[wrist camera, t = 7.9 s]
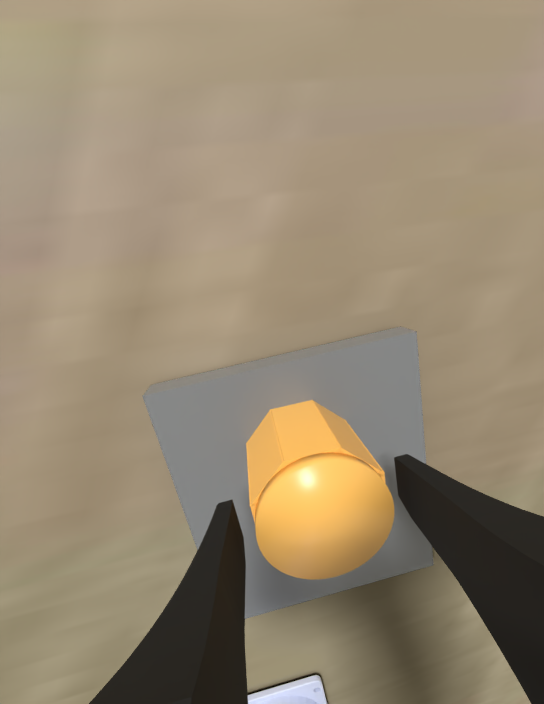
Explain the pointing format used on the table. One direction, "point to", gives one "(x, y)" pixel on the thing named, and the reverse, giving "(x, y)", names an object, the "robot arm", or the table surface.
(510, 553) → the robot arm
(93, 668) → the table surface
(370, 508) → the orange acorn nut
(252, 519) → the plate
